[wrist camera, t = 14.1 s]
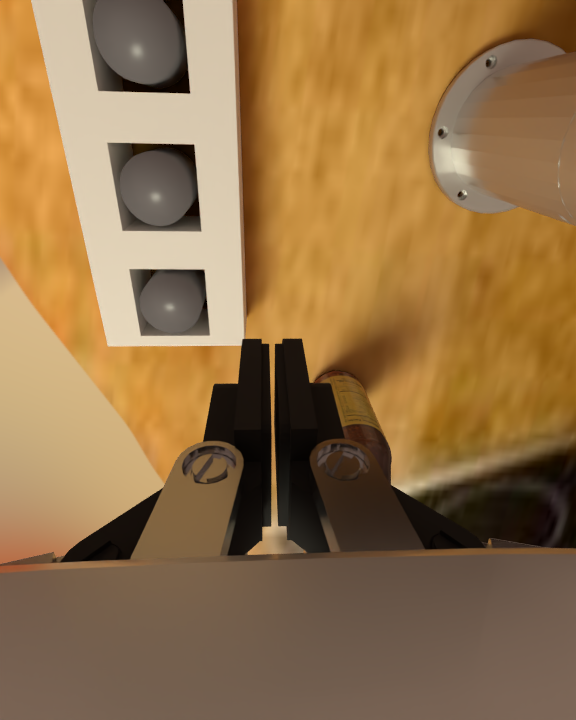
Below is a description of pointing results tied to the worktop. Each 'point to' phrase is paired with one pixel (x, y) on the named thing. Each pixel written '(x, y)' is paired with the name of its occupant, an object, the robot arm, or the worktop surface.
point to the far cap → (173, 299)
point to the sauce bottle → (359, 417)
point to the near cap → (141, 41)
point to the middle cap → (159, 185)
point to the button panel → (114, 149)
